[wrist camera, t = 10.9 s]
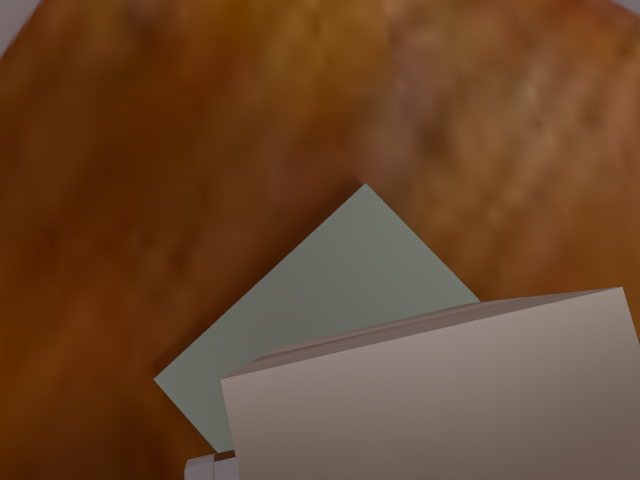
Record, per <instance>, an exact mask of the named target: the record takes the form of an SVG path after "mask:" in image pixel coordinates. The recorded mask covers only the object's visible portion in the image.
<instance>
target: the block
mask: <svg viewBox="0 0 640 480" xmlns="http://www.w3.org/2000/svg"><path fill="white" fill-rule="evenodd" d="M220 381H221V386H222V391H223V396H224V401H225V406H226V411H227V416H228V421H229V426H230V431H231V436H232V441H233V446H234V450H235V455H236V460H237V465H238V470H239V475H240V480H640V345H639V342H638V338H637V335H636V331H635V328H634V325H633V321H632V318H631V314H630V311H629V308H628V304H627V301H626V297H625V294H624V290H623V287H614V288H605V289H596V290H587V291H578V292H569V293H560V294H551V295H541V296H532V297H523V298H514V299H505V300H496V301H487V302H478V303H469V304H465V305H460V306H456V307H452V308H447V309H443V310H438V311H434V312H430V313H425V314H421V315H417V316H412V317H408V318H404V319H399V320H395V321H391V322H386V323H382V324H378V325H373V326H369V327H365V328H360V329H356V330H352V331H347V332H343V333H339V334H334V335H330V336H326V337H321V338H317V339H313V340H308V341H304V342H300V343H295V344H291V345H287V346H282V347H278V348H275V349H273V350H272V351H270V352H268V353H266V354H265V355H263V356H261V357H259V358H257V359H256V360H254V361H252V362H250V363H249V364H247V365H245V366H243V367H242V368H240V369H238V370H236V371H235V372H233V373H231V374H229V375H227V376H226V377H224V378H222V379H220Z"/></svg>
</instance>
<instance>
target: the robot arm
mask: <svg viewBox="0 0 640 480" xmlns="http://www.w3.org/2000/svg"><path fill="white" fill-rule="evenodd" d="M184 480H240V475H239V470H238V465H237V460H236V455H235V450H230V451H225V452H220V453H214V454H210V455H206V456H202V457H197V458H193V459H189V460H187V463H186V467H185V470H184Z"/></svg>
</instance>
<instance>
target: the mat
mask: <svg viewBox="0 0 640 480" xmlns="http://www.w3.org/2000/svg"><path fill="white" fill-rule="evenodd" d="M478 302H481V301H480V300H479V299H478V298H477V297H476V296H475V295H474V294H473V293H472V292H471V291H470V290H469V289H468V288H467V287H466V286H465V285H464V284H463V283H462V282H461V281H460V280H459V278H458V277H457V276H456V275H455V274H454V273H453V272H452V271H451V270H450V269H449V268H448V267H447V266H446V265H445V264H444V263H443V262H442V261H441V260H440V259H439V258H438V257H437V256H436V255H435V254H434V253H433V252H432V251H431V250H430V249H429V248H428V247H427V246H426V244H425V243H424V242H423V241H422V240H421V239H420V238H419V237H418V236H417V235H416V234H415V233H414V232H413V231H412V230H411V229H410V228H409V227H408V226H407V225H406V224H405V223H404V222H403V221H402V220H401V219H400V218H399V217H398V216H397V215H396V214H395V213H394V212H393V210H392V209H391V208H390V207H389V206H388V205H387V204H386V203H385V202H384V201H383V200H382V199H381V198H380V197H379V196H378V195H377V194H376V193H375V192H374V191H373V190H372V189H371V188H370V187H369V186H368V185H367V184H366V183H365V184H364V185H363V186H362V187H361V188H360V189H359V190H358V191H356V192H355V193H354V194H353V195H352V196H351V197H350V198H349V199H348V200H347V201H346V202H345V203H343V204H342V205H341V206H340V207H339V208H338V209H337V210H336V211H335V212H334V213H333V214H332V215H331V216H329V217H328V218H327V219H326V220H325V221H324V222H323V223H322V224H321V225H320V226H319V227H318V228H316V229H315V230H314V231H313V232H312V233H311V234H310V235H309V236H308V237H307V238H306V239H305V240H303V241H302V242H301V243H300V244H299V245H298V246H297V247H296V248H295V249H294V250H293V251H292V252H291V253H289V254H288V255H287V256H286V257H285V258H284V259H283V260H282V261H281V262H280V263H279V264H278V265H276V266H275V267H274V268H273V269H272V270H271V271H270V272H269V273H268V274H267V275H266V276H265V277H264V278H262V279H261V280H260V281H259V282H258V283H257V284H256V285H255V286H254V287H253V288H252V289H251V290H249V291H248V292H247V293H246V294H245V295H244V296H243V297H242V298H241V299H240V300H239V301H238V302H236V303H235V304H234V305H233V306H232V307H231V308H230V309H229V310H228V311H227V312H226V313H225V314H224V315H222V316H221V317H220V318H219V319H218V320H217V321H216V322H215V323H214V324H213V325H212V326H211V327H209V328H208V329H207V330H206V331H205V332H204V333H203V334H202V335H201V336H200V337H199V338H198V339H196V340H195V341H194V342H193V343H192V344H191V345H190V346H189V347H188V348H187V349H186V350H185V351H184V352H182V353H181V354H180V355H179V356H178V357H177V358H176V359H175V360H174V361H173V362H172V363H171V364H169V365H168V366H167V367H166V368H165V369H164V370H163V371H162V372H161V373H160V374H159V375H158V376H156V377H155V378H154V379H153V380H154V381H155V382H156V383H157V384H158V385H159V386H160V388H161V389H162V390H163V391H164V392H165V393H166V394H167V396H168V397H169V398H170V399H171V400H172V401H173V402H174V404H175V405H176V406H177V407H178V408H179V409H180V410H181V412H182V413H183V414H184V415H185V416H186V417H187V418H188V420H189V421H190V422H191V423H192V424H193V425H194V426H195V428H196V429H197V430H198V431H199V432H200V433H201V434H202V436H203V437H204V438H205V439H206V440H207V441H208V442H209V444H210V445H211V446H212V447H213V448H214V449H215V450H216V452H217V453H220V452H225V451H230V450H234V446H233V441H232V436H231V431H230V426H229V421H228V416H227V411H226V406H225V401H224V396H223V391H222V386H221V381H220V379H222V378H224V377H226V376H227V375H229V374H231V373H233V372H235V371H236V370H238V369H240V368H242V367H243V366H245V365H247V364H249V363H250V362H252V361H254V360H256V359H257V358H259V357H261V356H263V355H265V354H266V353H268V352H270V351H272V350H273V349H275V348H278V347H282V346H287V345H291V344H295V343H300V342H304V341H308V340H313V339H317V338H321V337H326V336H330V335H334V334H339V333H343V332H347V331H352V330H356V329H360V328H365V327H369V326H373V325H378V324H382V323H386V322H391V321H395V320H399V319H404V318H408V317H412V316H417V315H421V314H425V313H430V312H434V311H438V310H443V309H447V308H452V307H456V306H460V305H465V304H469V303H478Z"/></svg>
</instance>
